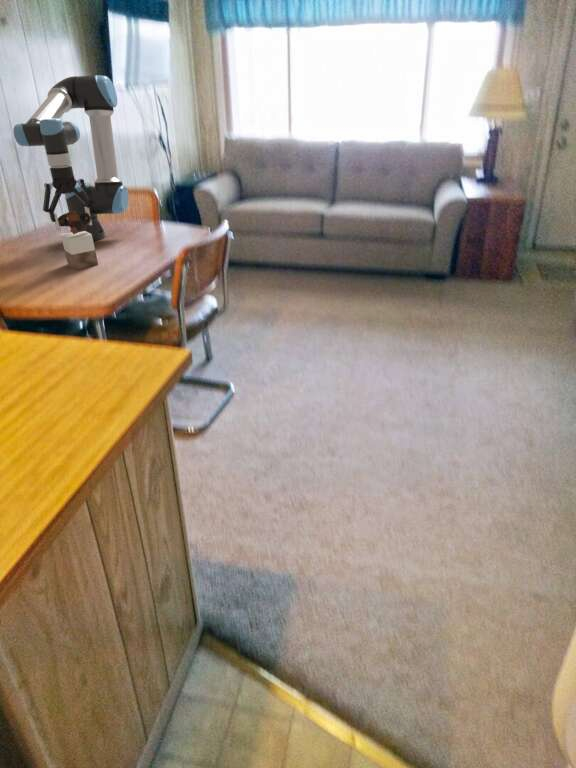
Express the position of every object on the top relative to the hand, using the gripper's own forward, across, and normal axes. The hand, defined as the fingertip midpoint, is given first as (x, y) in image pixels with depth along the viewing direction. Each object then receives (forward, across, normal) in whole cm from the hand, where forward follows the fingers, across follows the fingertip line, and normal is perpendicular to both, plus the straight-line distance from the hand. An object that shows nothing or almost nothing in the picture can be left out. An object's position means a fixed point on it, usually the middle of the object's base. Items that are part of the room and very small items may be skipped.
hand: (74, 227), depth 206 cm
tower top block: (+9, 0, 0) cm, 9 cm away
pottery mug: (+1, 0, +1) cm, 2 cm away
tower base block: (+15, 0, 0) cm, 15 cm away
